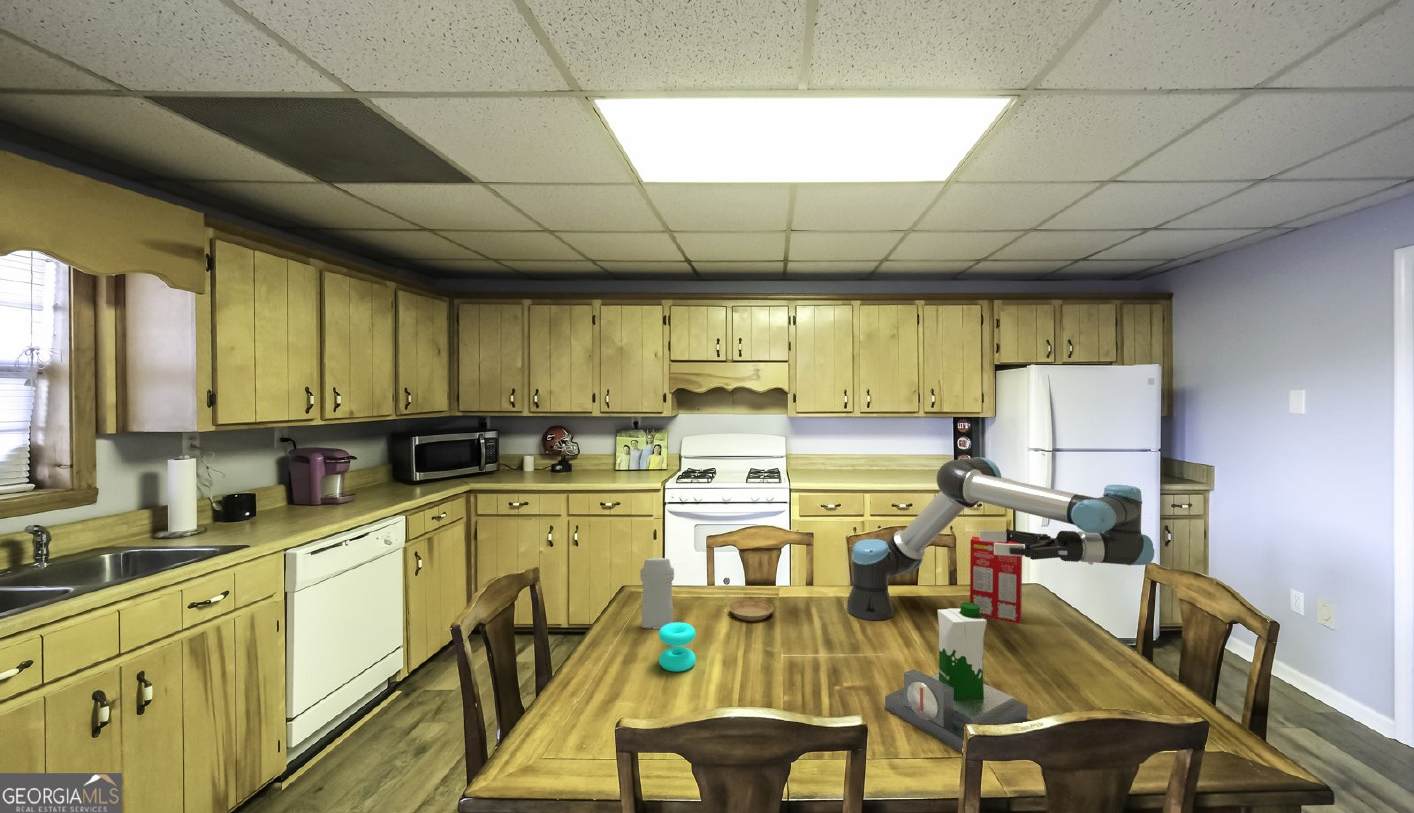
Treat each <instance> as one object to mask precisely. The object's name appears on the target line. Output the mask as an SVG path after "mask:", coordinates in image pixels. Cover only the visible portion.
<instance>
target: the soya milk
mask: <svg viewBox="0 0 1414 813" xmlns="http://www.w3.org/2000/svg"><path fill="white" fill-rule="evenodd" d="M937 618H938V633H939V636H938V639H939V640H938V642H939V643H938V673H939V681H940V682H942V683H944V684H946V685H949V686H951V687H953V688H954V700H968V699H984V687H983V683H984V637H985V631H986V627H987V623H988V622H987V619H985V617H982V616H981V615H980V607H979V606H978V605H977V604H974V603H970V602H962V603H960V608H953V607H952V608H951V607H950V608H947V609H945V608H944V609H942V608H941V609H937Z"/></svg>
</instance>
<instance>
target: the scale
mask: <svg viewBox="0 0 1414 813" xmlns="http://www.w3.org/2000/svg"><path fill="white" fill-rule="evenodd" d="M983 687H984V699H968V700H954V688H953V687H951V686H949V685H946V684H944V683H942V682H940V681H939V672H937V673H935V674H933V675H931V676H930V675H927V674H925V673H923V672H921V671H919V670H917V669H915V668H912V669H910V670H907V671H906V672H903V688H900V689H899V690H898V689H897V690H896V691H894V692H892V693H889V694H886V695H884V709H885V710H887V711H888V712H890V713H891V714H893V715H895V716H896V717H898V718H900V719H902V720H903V721H905V722H907V723H908V724H910V725H912V726H914V727H915V728H917V729H919V730H921V731H922V732H924V733H926V734H927V735H929V736H931V737H932V738H935V739H936V740H938V741H939V742H941V743H942V744H945V745H947V746H948V747H950V748H952V749H953V750H955V751H956V752H959V754H962V748H963V741H964V727H965V725H966V724H978V725H998V724H1010V723H1019V722H1020V723H1023V721H1025V720H1027V719H1028V704H1026V703H1024V702H1021V701H1020V700H1017V699H1015V697H1014V696H1012V695H1010V694H1007V693H1005V692H1003V691H1001V690H999V689H997V688H995V687H992V686H990V685H987V684H986V683H984V682H983ZM1020 723H1019V724H1020Z"/></svg>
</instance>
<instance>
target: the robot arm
mask: <svg viewBox="0 0 1414 813" xmlns="http://www.w3.org/2000/svg"><path fill="white" fill-rule="evenodd" d="M936 485H937V487H938V489H939V490H940V491H939V493H937V495H936V496H935V497H934V498H933V499H932V500H931V501H930V502H929V503H928V504H927V505H926V506H925V507H924V509H923V510H921V511H920V513H919V514H918V515H917V516H916V517H915V518H914V519H913V520H912V521H911V523H909V524H908V525H907V527H905V528H904V529H901V530H900V529H898V530H897V531H895V532H894V533H893V535H892V536H891V537H890V538H889V539H888V540H886V541H884V540H882V539H878V538H876V539H875V538H870V539H868V538H866V539H861V540H859V541H856V543H854V545H853V547H852V553H851V559H852V560H851V563H852V564H851V565H852V568H851V571H852V573H851V577H852V579H851V580H852V581H851V582H852V585H851V590H850V593H849V596H848V599H847V602H846V611H847V612H848V614H850V615H852V616H853V617H856V618H859V619H864V620H869V621H885V620H888V619H891V618H893V617H894V605H893V603H892V600H891V596H890V593H889V578H892V577H896V576H900V575H903V574H910V573H912V572H914V571H915V570H917V569H918V568H919V567H920V566H921V565H922V562H923V557H924V556H925V549H926V548H927V547H928V546H929V545H930V544H931V543H932V542H933V541H934V540H935V539H936V538H937V537H938V536H939V535H940V534H941V533H942V532H943V531H944V530H945V529H946V528H947V527H948V525H950V524H951V523H952V522H953V521H954V520H955V519H956V518H957V517H958V516H959V515H960V514H961V513H962V512H963V511H964V510H965V509H966V508H968V509H972V508H975V507H976V505H977V504H978V503H985V504H988V505H993V506H996V507H999V508H1005V509H1008V510H1012V511H1016V512H1021V513H1024V514H1029V515H1033V516H1038V517H1040V518H1041V517H1042V518H1045V519H1048V520H1053V521H1058V522H1060V523H1065V524H1070V525H1073V526H1076V528H1078V529H1079V530H1080V531H1079V530H1078V531H1074V530H1060V531H1059V532H1058V533H1057V534H1056V537H1052V536H1050V535H1048V534H1046V533H1037V532H1028V531H1022V530H1021V531H1020V530H1015V529H1005V531H1002V530H1001V531H1000V530H986V529H985V530H983V529H982V530H979V537H980V541H993V542H1005V543H1006V544H1001V543H994V555H1007V556H1022V557H1025V558H1029V559H1030V560H1032V561H1035V560H1049V559H1058V558H1059V559H1060V560H1061V561H1062V562H1071V563H1072V562H1073V563H1079V562H1081V563H1088V565H1090V566H1091V565H1094V563H1096V564H1113V565H1114V564H1115V565H1123V566H1124V565H1126V566H1146V565H1149V564H1151V563H1152V561H1153V560H1154V558H1155V548H1154V543H1153V541H1152V539H1151V538H1150V537H1149V536H1148V535H1146V534H1143V533H1142V508H1143V507H1142V505H1143V499H1142V491H1141V489H1140V488H1138V487H1137V486H1133V485H1128V484H1107V485H1105V486H1104V488H1103V490H1104V491H1103V494H1102V496H1100V497H1094V496H1093V497H1092V496H1088V495H1084V494H1078V493H1074V492H1069V491H1064V490H1060V489H1054V488H1049V487H1045V486H1039V485H1034V484H1030V483H1025V482H1020V481H1016V480H1012V479H1007V478H1002V473H1001V471H1000V468H999V467H998V466H997V465H996V463H995V462H993V461H992V460H991V459H988V458H985V457H978V456H976V457H970V458H963V459H953V460H949V461H946V462H945V463H944V464H942V465H941V467H940V468H939V469H938V471H937V474H936ZM1009 541H1010V542H1015V543H1020V544H1022V545H1020V544H1007V543H1009Z"/></svg>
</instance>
